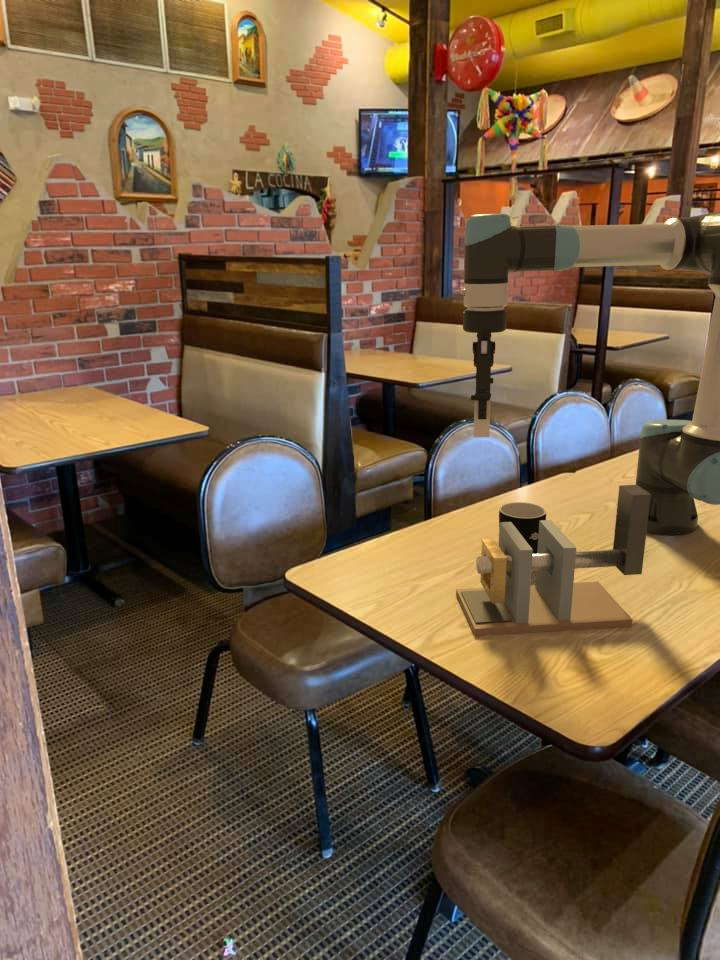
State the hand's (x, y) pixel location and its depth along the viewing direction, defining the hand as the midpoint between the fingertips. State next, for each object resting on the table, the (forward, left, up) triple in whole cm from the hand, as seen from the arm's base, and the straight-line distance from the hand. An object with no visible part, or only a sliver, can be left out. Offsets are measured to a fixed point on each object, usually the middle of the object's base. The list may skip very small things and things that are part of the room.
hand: (481, 427), depth 132 cm
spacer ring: (+2, +19, -20) cm, 28 cm away
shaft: (-9, +19, -20) cm, 30 cm away
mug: (-10, -3, -28) cm, 30 cm away
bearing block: (-6, +19, -28) cm, 34 cm away
